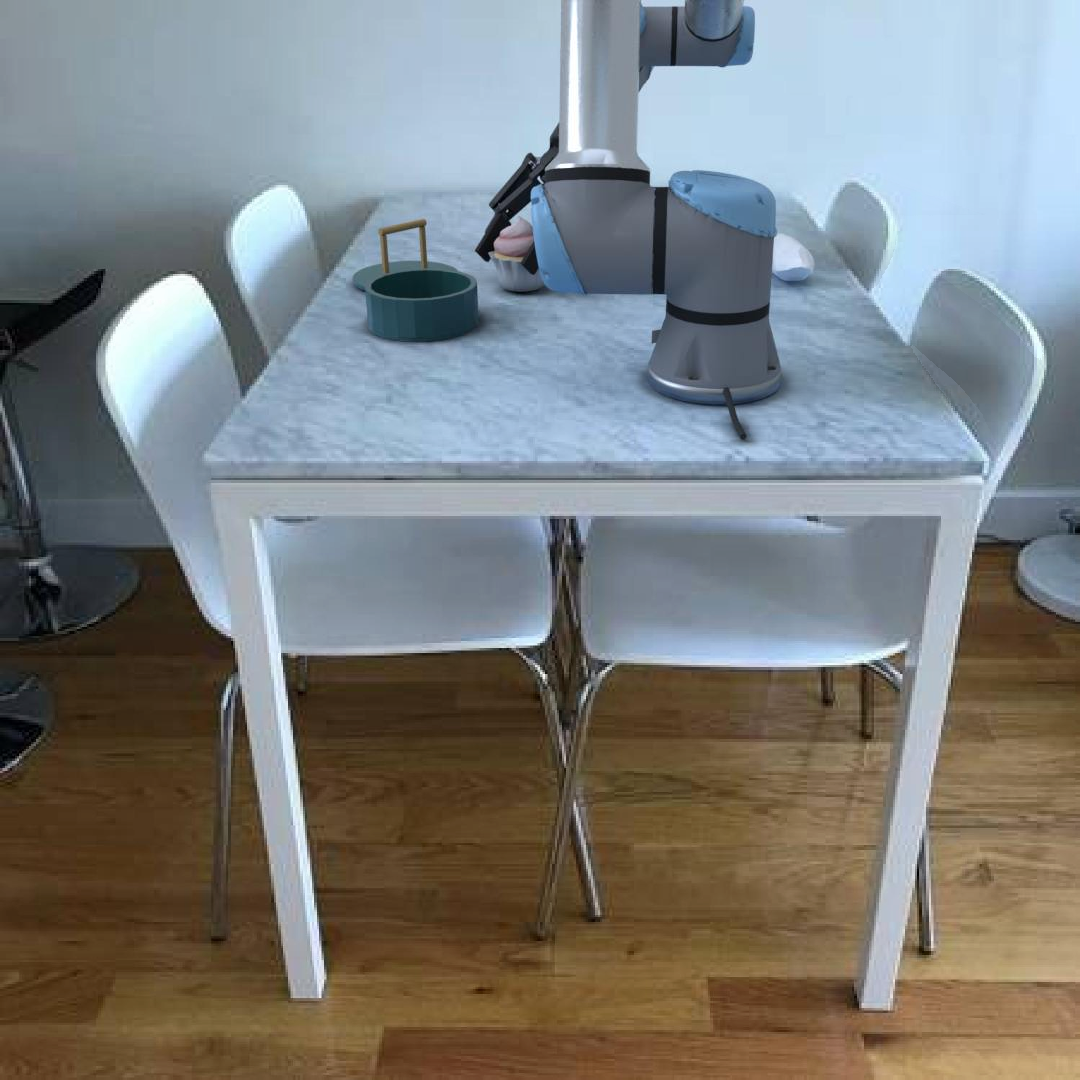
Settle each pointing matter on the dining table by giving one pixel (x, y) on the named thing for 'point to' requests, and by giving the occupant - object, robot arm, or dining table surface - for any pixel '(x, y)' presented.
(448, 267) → the tin lid
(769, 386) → the robot arm
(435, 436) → the dining table surface
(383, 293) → the tin
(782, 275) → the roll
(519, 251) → the cupcake
